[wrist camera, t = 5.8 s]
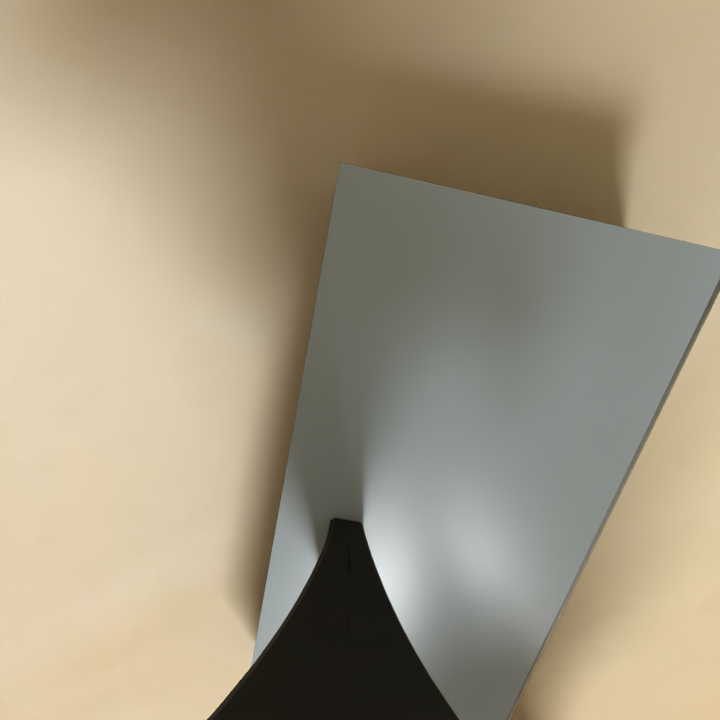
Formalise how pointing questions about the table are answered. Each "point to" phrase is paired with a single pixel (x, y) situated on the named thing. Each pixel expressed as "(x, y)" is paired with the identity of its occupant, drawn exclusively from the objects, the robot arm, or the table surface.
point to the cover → (477, 412)
